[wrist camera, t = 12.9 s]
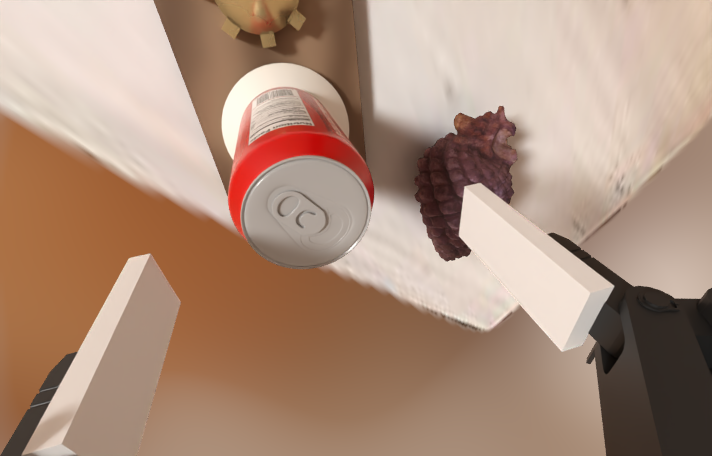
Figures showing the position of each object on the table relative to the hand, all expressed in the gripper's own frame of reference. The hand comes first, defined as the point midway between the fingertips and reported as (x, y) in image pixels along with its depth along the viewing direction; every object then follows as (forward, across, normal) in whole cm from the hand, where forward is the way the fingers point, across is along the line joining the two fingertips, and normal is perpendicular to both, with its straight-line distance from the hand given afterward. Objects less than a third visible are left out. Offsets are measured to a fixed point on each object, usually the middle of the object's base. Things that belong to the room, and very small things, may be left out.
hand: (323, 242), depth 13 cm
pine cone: (+20, +16, -9) cm, 27 cm away
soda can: (+18, 0, 0) cm, 18 cm away
